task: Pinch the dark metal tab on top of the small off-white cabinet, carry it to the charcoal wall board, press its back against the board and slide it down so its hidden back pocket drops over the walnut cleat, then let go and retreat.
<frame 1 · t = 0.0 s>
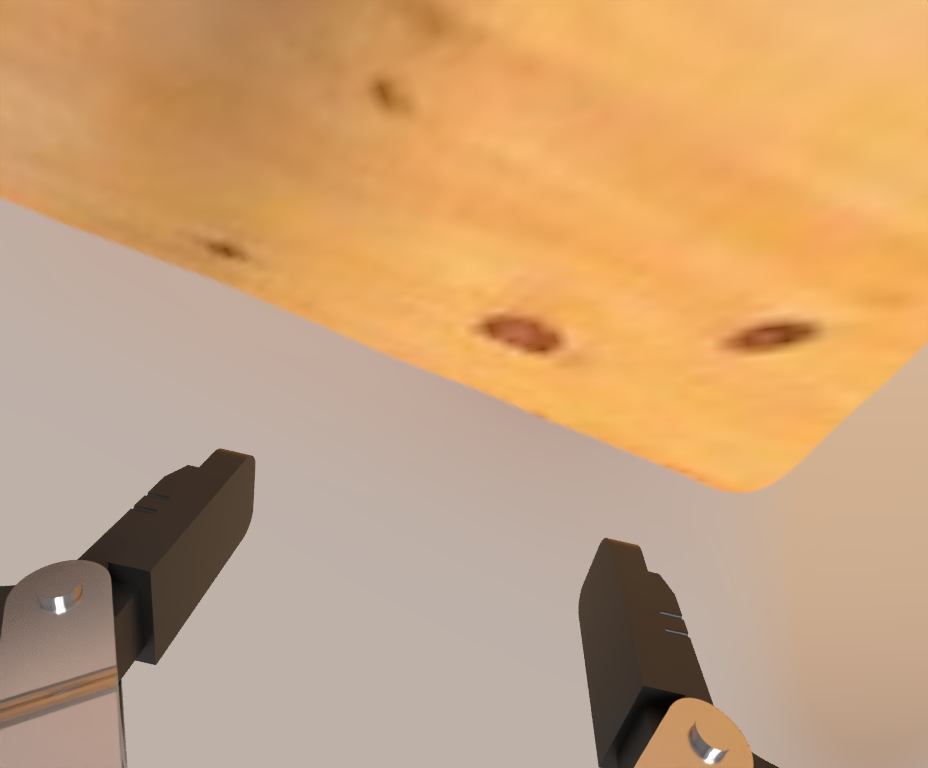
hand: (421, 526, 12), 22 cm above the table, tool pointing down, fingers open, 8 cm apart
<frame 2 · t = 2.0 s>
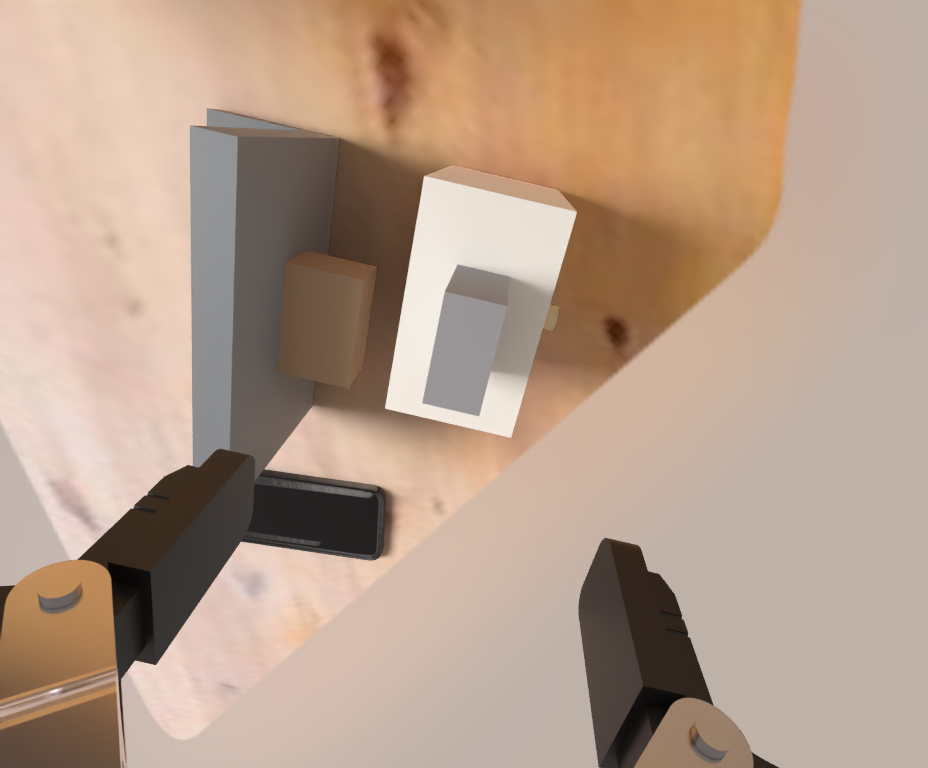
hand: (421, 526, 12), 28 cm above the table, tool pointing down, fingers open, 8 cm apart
wall board: (311, 283, 39), on the table
cabinet: (484, 267, 37), on the table
phone: (304, 507, 48), on the table
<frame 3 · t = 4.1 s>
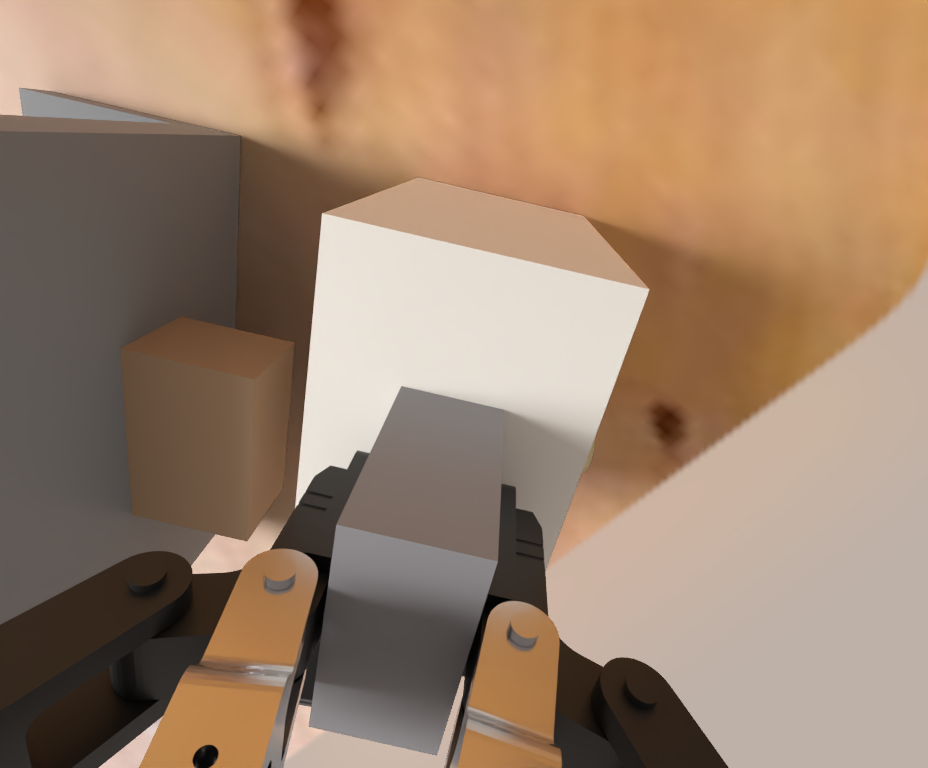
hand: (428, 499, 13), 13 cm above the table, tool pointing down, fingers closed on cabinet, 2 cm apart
wall board: (214, 351, 26), on the table
cabinet: (470, 331, 24), on the table, touching gripper
phone: (231, 636, 36), on the table
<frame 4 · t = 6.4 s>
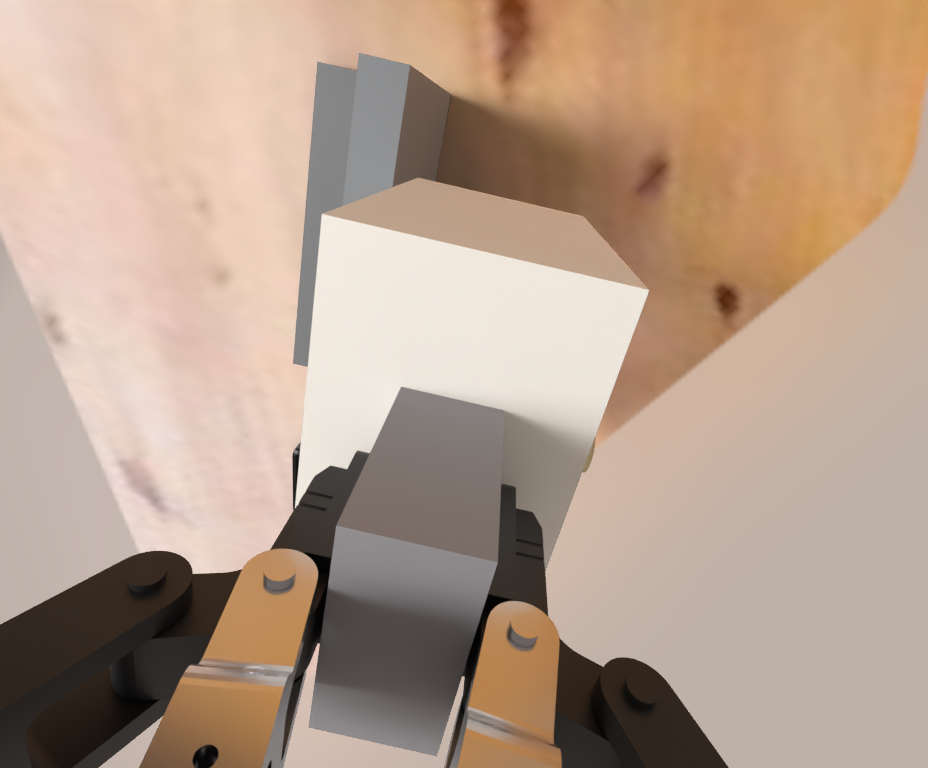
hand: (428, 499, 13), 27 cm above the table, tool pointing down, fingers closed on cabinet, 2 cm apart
wall board: (409, 249, 37), on the table
cabinet: (470, 331, 24), point 14 cm above the table, touching gripper
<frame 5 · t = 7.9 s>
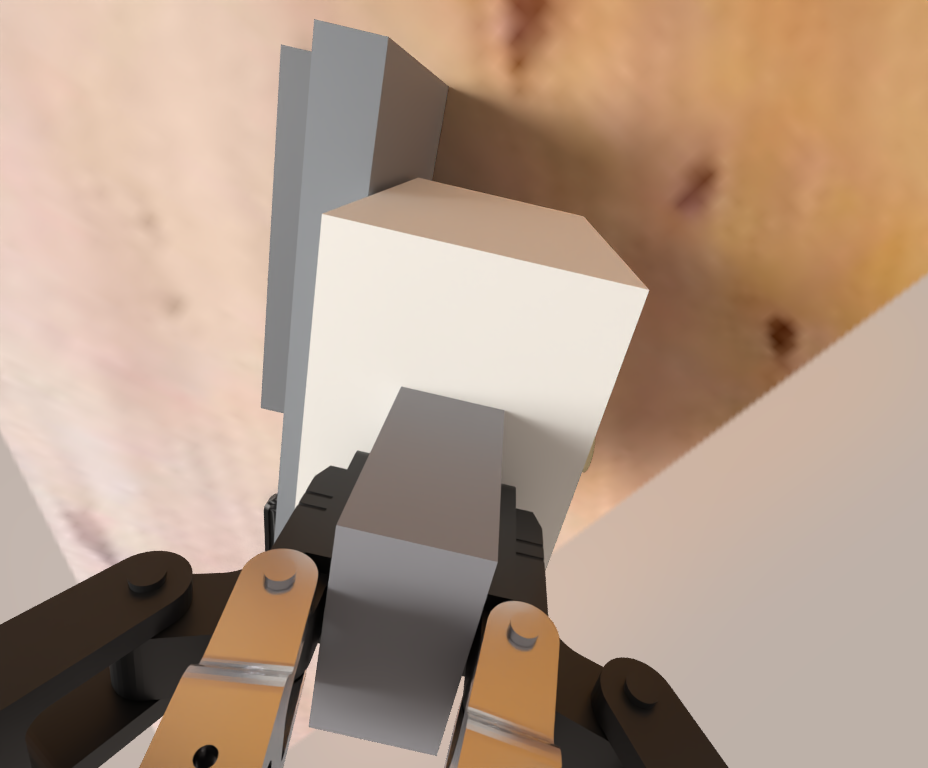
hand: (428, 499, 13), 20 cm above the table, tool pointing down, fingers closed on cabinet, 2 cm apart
wall board: (398, 274, 31), on the table
cabinet: (470, 331, 24), point 7 cm above the table, touching gripper
phone: (369, 544, 40), on the table
when the fingers open (16 cm above the table, at t = 8.8 s): cabinet stays where it is, resting on wall board.
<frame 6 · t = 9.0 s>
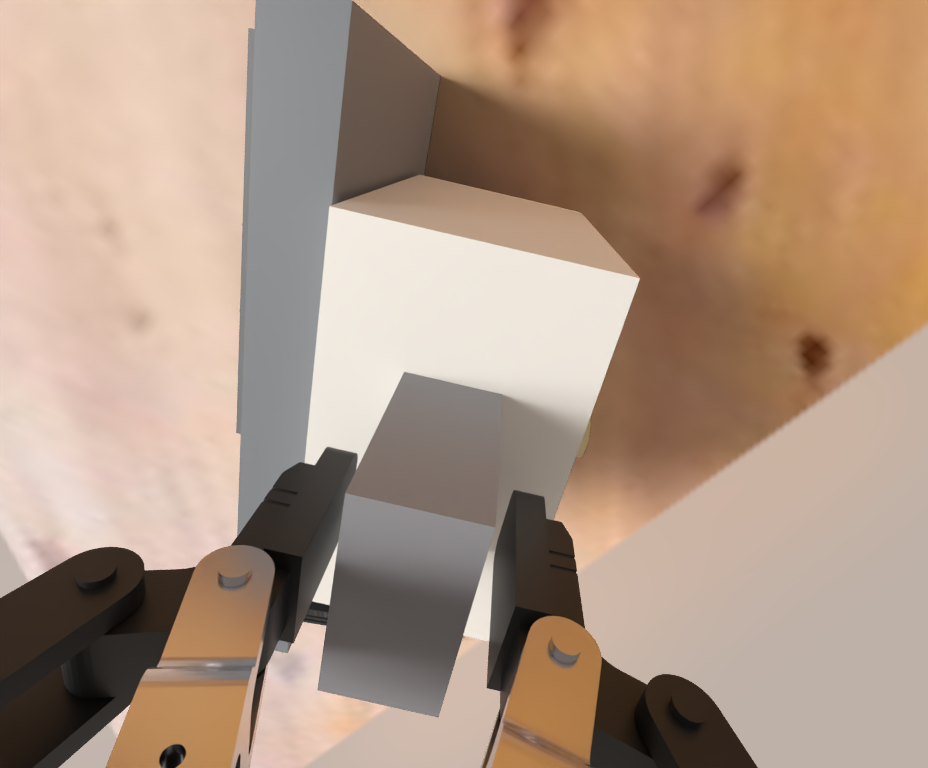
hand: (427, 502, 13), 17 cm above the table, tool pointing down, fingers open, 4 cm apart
wall board: (385, 287, 28), on the table
cabinet: (470, 324, 25), point 3 cm above the table, touching wall board
phone: (358, 576, 37), on the table
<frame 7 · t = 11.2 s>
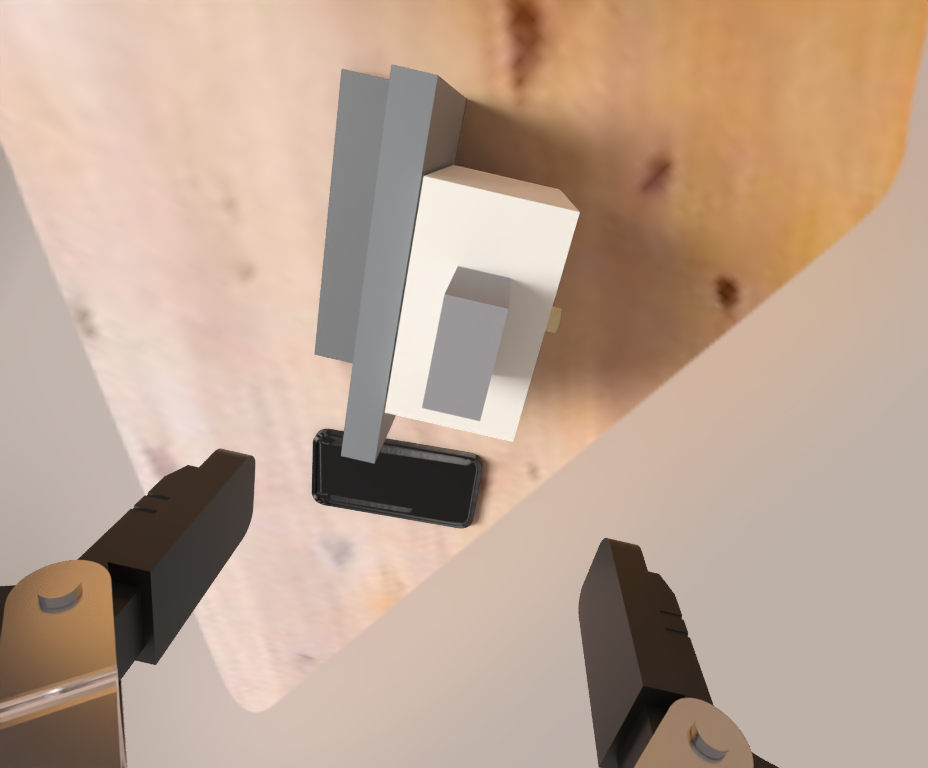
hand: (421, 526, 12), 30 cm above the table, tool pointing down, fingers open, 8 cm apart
wall board: (425, 245, 39), on the table
cabinet: (486, 268, 37), point 3 cm above the table, touching wall board
phone: (397, 474, 49), on the table
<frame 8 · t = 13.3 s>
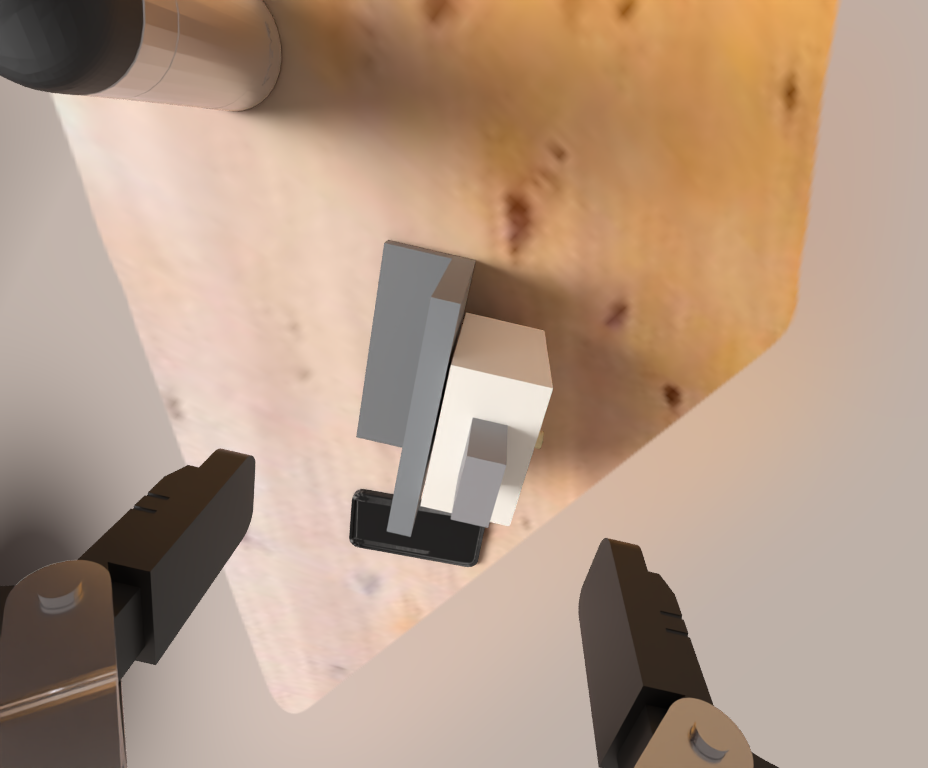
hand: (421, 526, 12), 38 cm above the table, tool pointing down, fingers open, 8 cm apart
wall board: (443, 358, 52), on the table
cabinet: (489, 382, 49), point 3 cm above the table, touching wall board
phone: (417, 523, 61), on the table
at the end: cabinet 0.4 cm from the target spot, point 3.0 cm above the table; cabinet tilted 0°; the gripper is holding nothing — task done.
